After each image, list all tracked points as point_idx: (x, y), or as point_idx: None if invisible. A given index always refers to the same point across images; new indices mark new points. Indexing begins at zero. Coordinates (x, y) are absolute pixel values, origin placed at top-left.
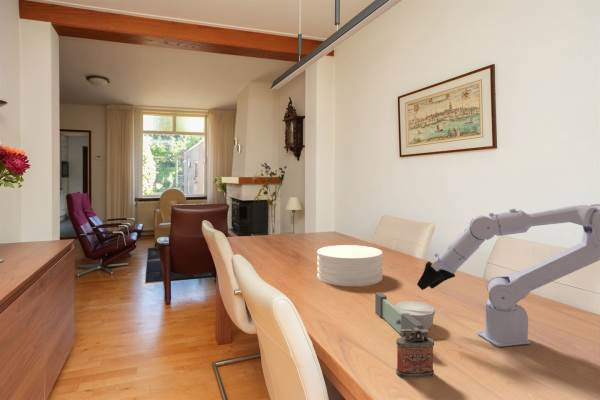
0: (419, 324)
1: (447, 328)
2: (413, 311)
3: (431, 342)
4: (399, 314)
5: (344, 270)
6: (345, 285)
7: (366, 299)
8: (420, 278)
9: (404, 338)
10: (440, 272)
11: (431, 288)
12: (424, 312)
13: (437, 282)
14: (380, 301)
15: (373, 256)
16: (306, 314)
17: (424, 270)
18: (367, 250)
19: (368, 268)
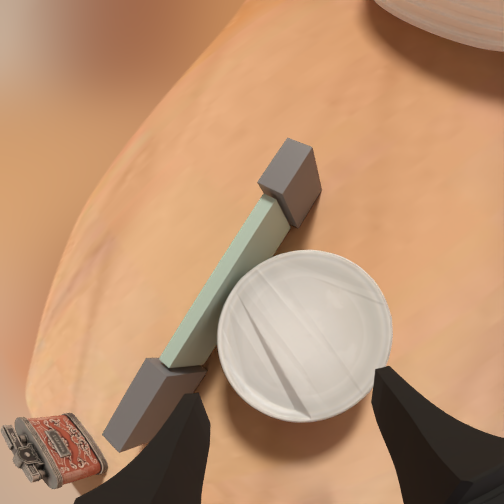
0: (116, 440)
1: (365, 432)
2: (267, 351)
3: (47, 484)
4: (174, 338)
5: None
6: (397, 16)
7: (375, 94)
8: (163, 425)
9: (26, 431)
10: (422, 481)
11: (371, 401)
12: (290, 390)
13: (390, 444)
14: (263, 191)
15: None
16: (163, 101)
17: (116, 474)
18: None
19: (471, 3)
